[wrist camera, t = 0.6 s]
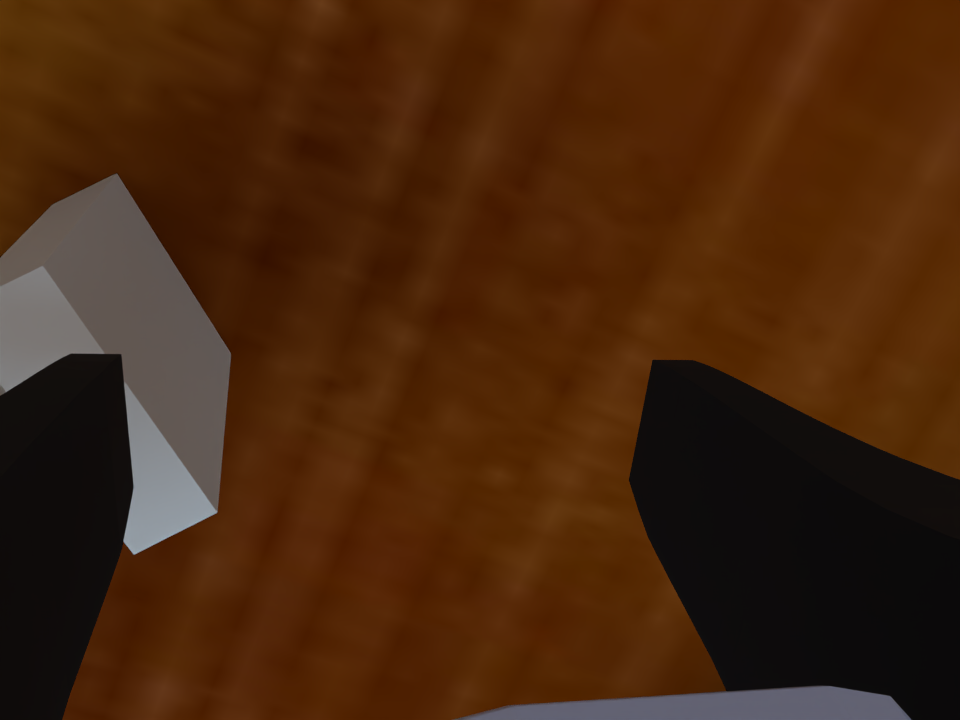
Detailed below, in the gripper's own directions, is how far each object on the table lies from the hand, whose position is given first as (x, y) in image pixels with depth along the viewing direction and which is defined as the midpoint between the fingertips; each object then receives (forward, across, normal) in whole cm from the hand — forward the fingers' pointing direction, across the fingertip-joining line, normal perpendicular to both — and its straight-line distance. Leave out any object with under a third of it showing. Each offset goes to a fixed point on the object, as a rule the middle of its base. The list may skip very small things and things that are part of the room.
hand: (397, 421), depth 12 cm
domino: (+10, +5, +2) cm, 11 cm away
